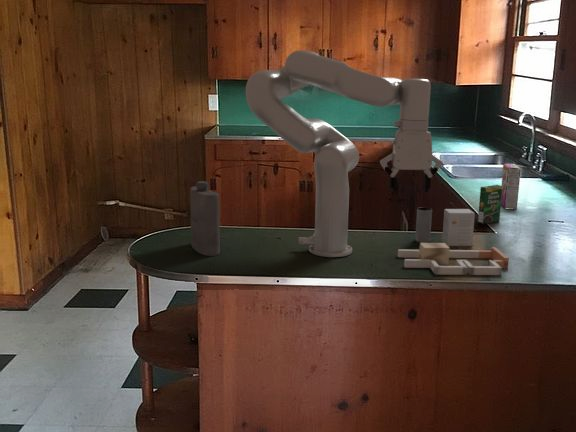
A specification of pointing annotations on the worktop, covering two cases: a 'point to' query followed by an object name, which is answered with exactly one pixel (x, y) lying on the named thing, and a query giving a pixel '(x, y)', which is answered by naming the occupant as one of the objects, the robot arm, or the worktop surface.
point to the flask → (204, 219)
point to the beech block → (435, 252)
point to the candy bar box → (510, 185)
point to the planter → (423, 224)
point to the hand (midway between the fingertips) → (409, 191)
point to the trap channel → (459, 262)
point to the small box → (458, 227)
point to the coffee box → (490, 204)
